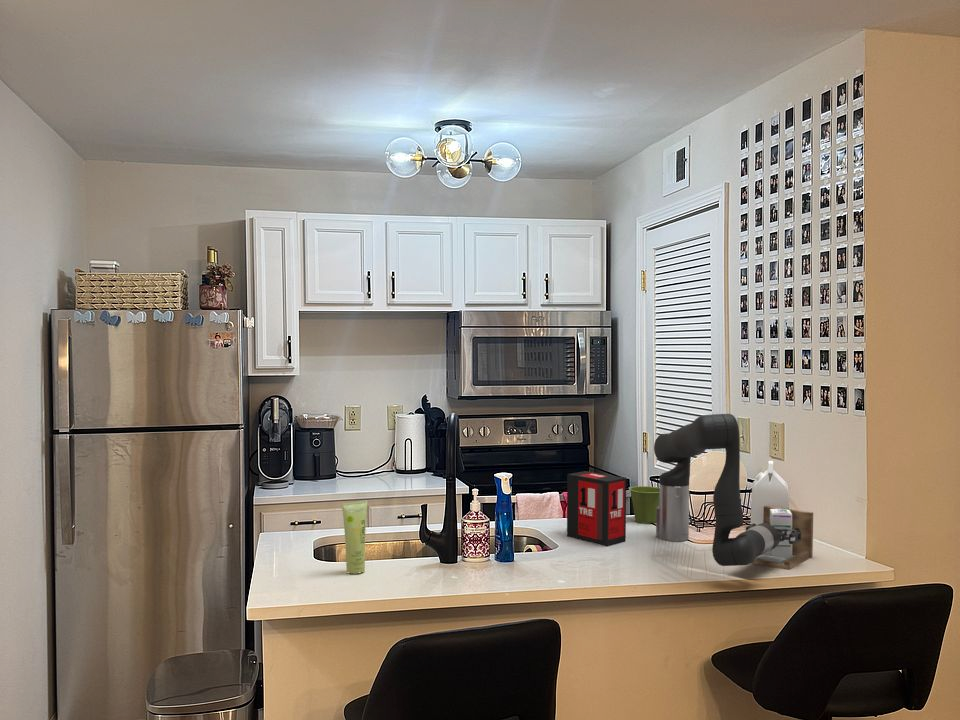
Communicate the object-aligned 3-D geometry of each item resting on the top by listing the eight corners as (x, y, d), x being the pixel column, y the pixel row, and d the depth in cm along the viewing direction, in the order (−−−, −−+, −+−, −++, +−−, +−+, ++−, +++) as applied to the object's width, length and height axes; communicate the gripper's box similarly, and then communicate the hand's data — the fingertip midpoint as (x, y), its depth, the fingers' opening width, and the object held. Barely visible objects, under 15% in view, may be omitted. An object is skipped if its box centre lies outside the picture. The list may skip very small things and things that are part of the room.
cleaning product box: (625, 541, 267) (626, 478, 266) (607, 546, 261) (607, 481, 260) (585, 531, 279) (585, 471, 278) (566, 536, 273) (567, 474, 272)
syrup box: (792, 564, 242) (793, 513, 242) (770, 562, 244) (771, 512, 243) (789, 558, 248) (790, 509, 247) (768, 557, 249) (769, 508, 249)
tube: (359, 576, 231) (358, 504, 230) (342, 574, 232) (341, 503, 231) (368, 570, 236) (367, 500, 235) (351, 568, 237) (350, 498, 237)
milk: (789, 553, 253) (791, 466, 252) (749, 550, 257) (750, 464, 256) (789, 543, 265) (790, 460, 264) (750, 540, 269) (751, 458, 267)
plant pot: (667, 525, 288) (667, 492, 287) (632, 525, 288) (632, 492, 287) (659, 517, 300) (659, 485, 299) (625, 517, 299) (625, 485, 299)
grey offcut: (755, 560, 242) (755, 557, 242) (762, 557, 245) (762, 554, 245) (779, 565, 237) (779, 562, 237) (786, 562, 240) (786, 558, 240)
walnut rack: (740, 564, 242) (741, 515, 241) (764, 552, 255) (765, 505, 254) (789, 574, 233) (790, 523, 232) (812, 560, 246) (813, 512, 245)
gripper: (785, 530, 229) (808, 519, 242) (735, 521, 239) (759, 512, 251) (785, 557, 230) (807, 545, 242) (734, 548, 239) (758, 537, 251)
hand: (782, 528), depth 247 cm, fingers open, 8 cm apart
